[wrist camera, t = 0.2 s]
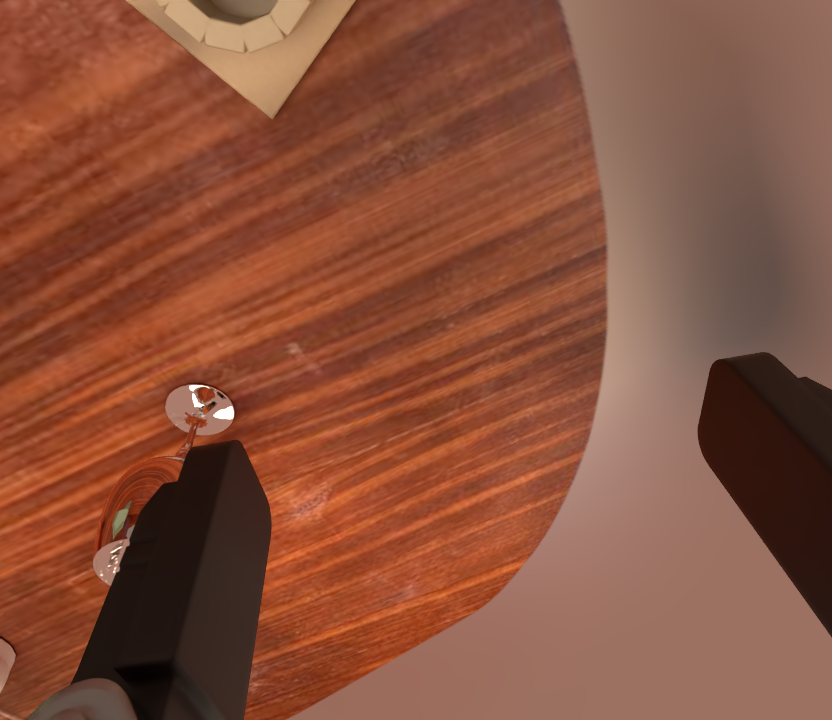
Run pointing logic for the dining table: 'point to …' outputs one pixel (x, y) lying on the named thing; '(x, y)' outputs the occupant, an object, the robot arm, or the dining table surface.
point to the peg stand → (266, 68)
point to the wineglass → (156, 471)
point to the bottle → (5, 661)
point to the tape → (235, 23)
